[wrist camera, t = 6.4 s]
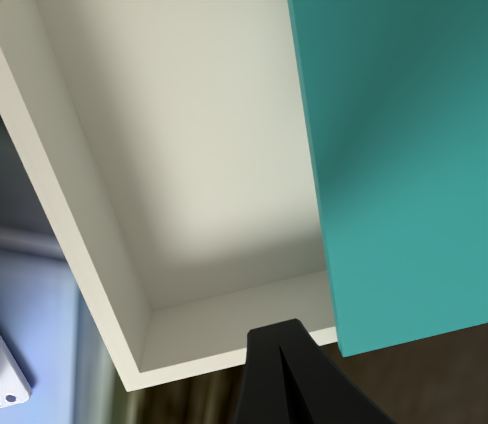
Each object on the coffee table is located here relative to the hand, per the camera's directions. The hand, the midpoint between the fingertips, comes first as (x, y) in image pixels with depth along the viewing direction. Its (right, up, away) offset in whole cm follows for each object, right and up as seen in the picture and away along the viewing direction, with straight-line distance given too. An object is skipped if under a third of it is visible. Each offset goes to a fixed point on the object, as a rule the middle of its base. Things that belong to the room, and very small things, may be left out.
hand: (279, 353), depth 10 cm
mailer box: (-1, +8, +7) cm, 10 cm away
